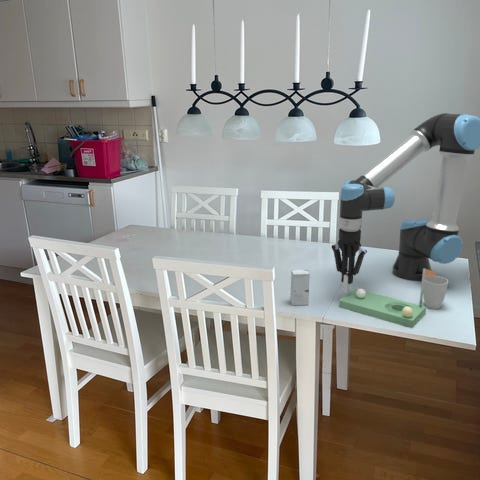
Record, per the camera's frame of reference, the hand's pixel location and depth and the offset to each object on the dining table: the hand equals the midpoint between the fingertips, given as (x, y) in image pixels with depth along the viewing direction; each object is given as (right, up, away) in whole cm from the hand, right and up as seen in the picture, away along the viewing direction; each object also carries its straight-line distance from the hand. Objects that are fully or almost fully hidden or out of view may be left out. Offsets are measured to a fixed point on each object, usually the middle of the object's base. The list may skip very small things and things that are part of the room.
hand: (346, 291), depth 176 cm
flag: (+24, -5, -12) cm, 27 cm away
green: (+11, -6, -7) cm, 14 cm away
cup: (+30, -5, -4) cm, 30 cm away
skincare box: (-17, -4, 0) cm, 18 cm away
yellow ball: (+16, -5, -18) cm, 25 cm away
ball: (+4, 0, -4) cm, 6 cm away
